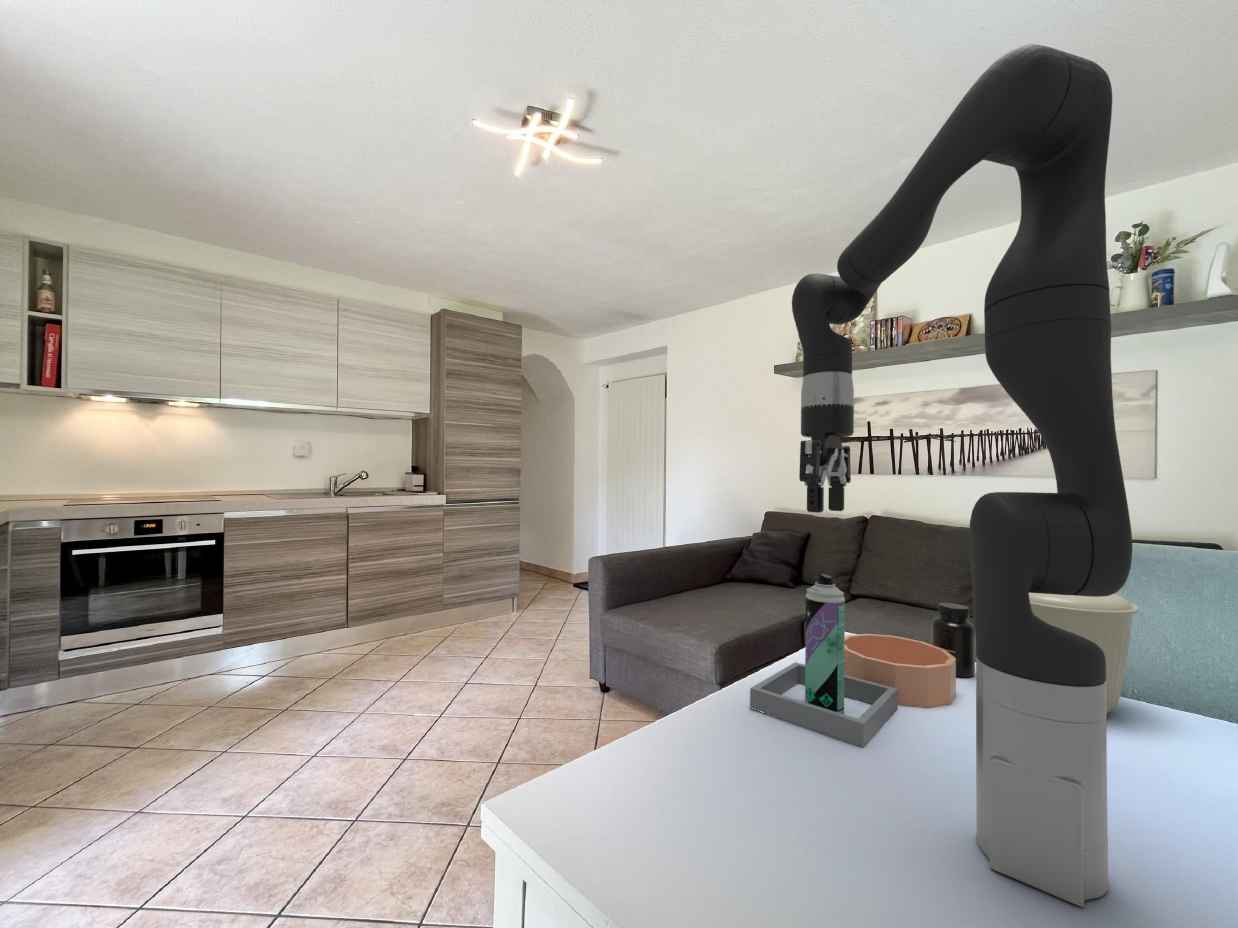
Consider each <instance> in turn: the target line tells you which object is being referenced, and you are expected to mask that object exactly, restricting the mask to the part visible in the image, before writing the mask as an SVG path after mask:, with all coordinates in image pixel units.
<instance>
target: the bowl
mask: <svg viewBox="0 0 1238 928" xmlns="http://www.w3.org/2000/svg"><path fill="white" fill-rule="evenodd" d="M844 675H847V676H851V677H854V678H858V679H862V680H866V681H870V682H874V683H878V684H881V685H885V686H889V687H893V688H897V689H898V705H899V706H900V705H901V706H908V707H909V706H910V707H917V708H925V709H926V708H928V709H929V708H934V707H936V708H937V707H940V706H941V707H942V706H949V705H951V704H952V703H953V701H954V699H955V698H956V695H957V693H956V692H957V686H956V685H957V681H956V680H957V679H956V678H957V677H956V658H955V657H953V656H952V655H951V654H950V653H948V652H947V651H946V650H944V649H942V648H939V647H936V646H933V645H931V643H930V644H929V643H927V642H925V641H920V640H916V639H913V638H911V639H910V638H906V637H903V636H902V637H901V636H896V635H887V634H877V633H875V634H873V633H862V634H860V633H859V634H850V635H849V634H848V635H845V645H844Z"/></svg>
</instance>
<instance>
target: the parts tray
mask: <svg viewBox="0 0 1238 928" xmlns="http://www.w3.org/2000/svg"><path fill="white" fill-rule="evenodd" d="M797 684H800V685H801V684H802V685H804V686H805V663H799V662H796V661H795V662H793V663H791V664H789V665H788V666H786V667H784V668H783V669H780V670H779V671H777V672H776V673H774V674H772V675H771V676H769V677H767V678H765V679H764V680H762V681H761V682H759V683H757V684H755V685H753V686H751V687H750V688H749V689H750V690H749V691H750V692H749V693H750V695H749V708H750V707H751V708H753V709H756V710H759V711H762V712H764V713H766V714H765V715H767V714H769V715H768V716H770V715H772V716H771V717H773V716H775V717H774V718H776V717H777V718H776V719H779V718H780V719H779V720H781V721H782V720H783V721H785V722H787V721H788V723H790V722H791V724H794V725H796V726H800V727H802V728H804V729H805V728H806V729H809V730H811V731H814V732H816V733H820V734H823V735H825V736H829V737H832V738H833V739H838V740H841V741H843V742H846V743H849V744H852V745H854V746H858V747H861V748H865V747H866V745H867V744H868V743H869V742H870V741H871V740H872V738H873V737H874V736H875V735H876V734H877V733H878V732H879V731H880V729H881V728H882V727H883V726H884V725H885V723H886V722H887V721H889V719H890V718H891V717H892V716H893V715H894V714H895V712H896V711H897V710H898V689H897V688H893V687H889V686H885V685H881V684H878V683H874V682H870V681H866V680H862V679H858V678H854V677H851V676H847V675H844V697H846V698H850V699H852V700H855V701H856V700H857V701H859V702H864V703H867V704H870V706H869V707H868V708H867V709H866V710H865V711H864V712H863V713H862V714H861V715H860V716H859V717H858V718H856V717H853V716H850V715H847V714H844V713H843V714H841V713H838V712H834V711H831V710H828V709H825V708H822V707H818V706H815V705H812V704H809V703H805V701H802V700H799V699H796V698H792V697H789V696H786V695H783V694H784V693H786V692H788V691H789V690H790V689H791V688H793V687H794V686H796V685H797ZM764 713H763V714H764Z"/></svg>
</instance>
